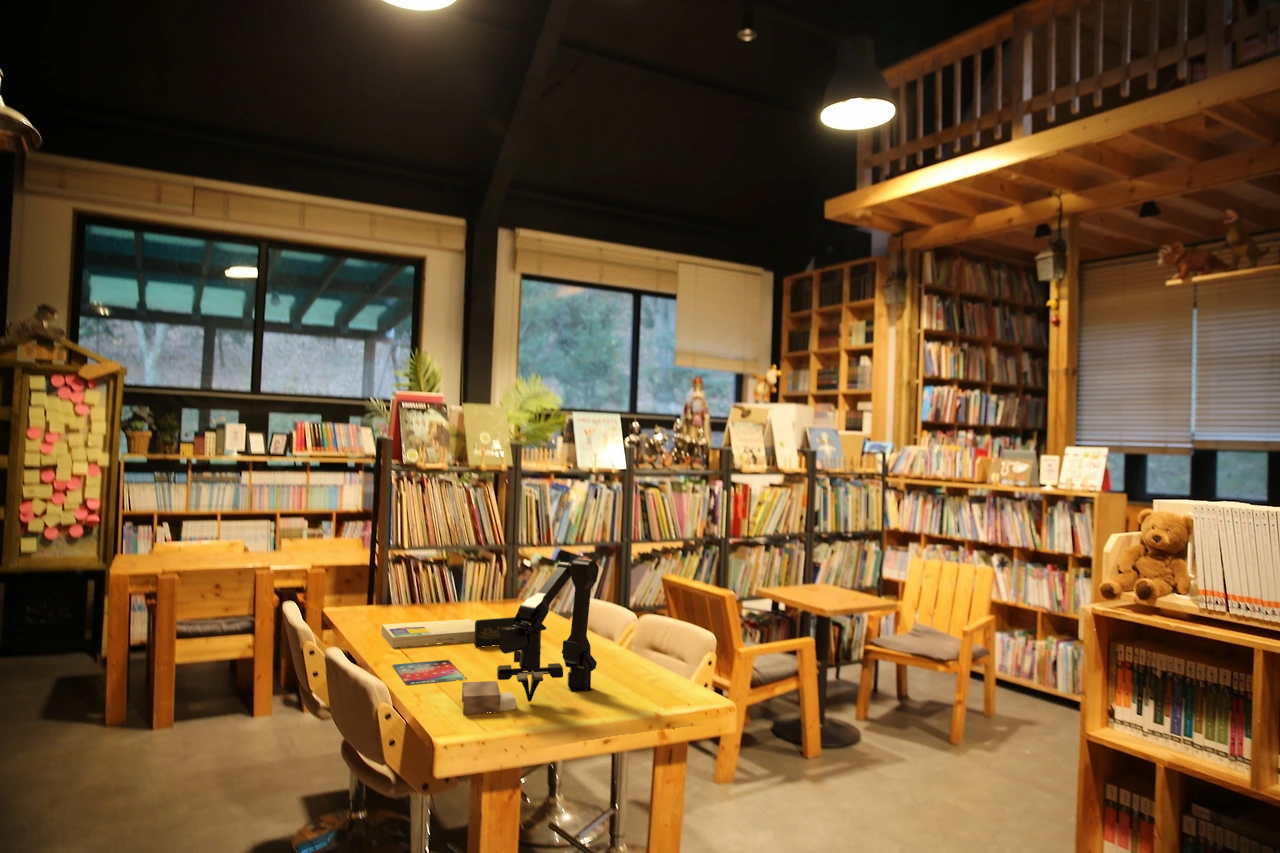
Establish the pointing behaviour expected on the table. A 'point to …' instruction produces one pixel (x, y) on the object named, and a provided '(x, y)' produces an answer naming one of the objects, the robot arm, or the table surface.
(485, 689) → the wood grain block
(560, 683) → the table surface
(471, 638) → the puzzle box
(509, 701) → the beige block
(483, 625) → the nameplate
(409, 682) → the tablet
